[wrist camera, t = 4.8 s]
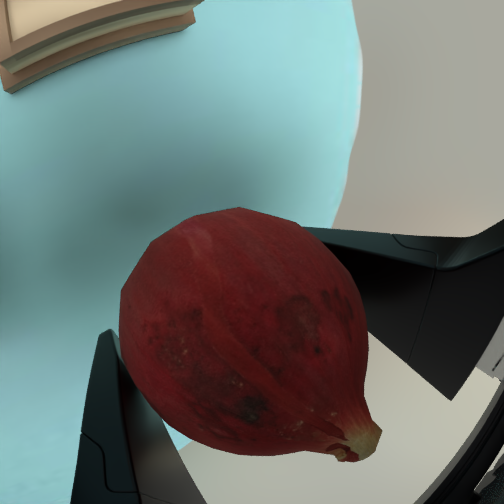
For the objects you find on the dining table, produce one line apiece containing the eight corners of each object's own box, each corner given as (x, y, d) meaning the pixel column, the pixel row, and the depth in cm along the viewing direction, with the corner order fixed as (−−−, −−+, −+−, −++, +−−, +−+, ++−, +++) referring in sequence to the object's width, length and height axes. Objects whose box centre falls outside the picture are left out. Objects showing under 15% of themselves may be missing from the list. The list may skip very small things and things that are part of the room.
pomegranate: (68, 304, 8) (163, 572, 2) (163, 142, 8) (469, 258, 2) (200, 348, 12) (330, 500, 6) (279, 231, 12) (465, 344, 6)
